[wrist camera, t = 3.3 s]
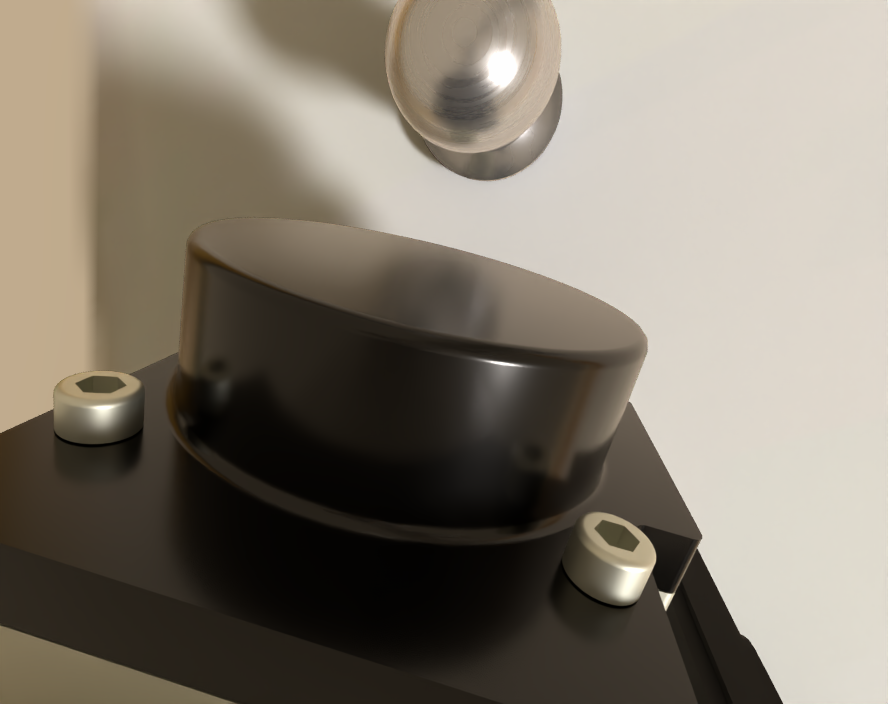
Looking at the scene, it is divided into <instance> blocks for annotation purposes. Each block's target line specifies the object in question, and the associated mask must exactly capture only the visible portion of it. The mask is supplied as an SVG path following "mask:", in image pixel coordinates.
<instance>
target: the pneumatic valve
mask: <svg viewBox="0 0 888 704" xmlns="http://www.w3.org/2000/svg"><path fill="white" fill-rule="evenodd" d="M647 350H648V341H647V337H646V335H645V334H644V332H643V331H642V329H641V328H640V326H639V325H638V324H636V323H635V322H634V321H633V320H632V319H631V318H630V317H628V316H627V315H625V314H624V313H622V312H621V311H619V310H618V309H616V308H614V307H613V306H611V305H609V304H607V303H605V302H604V301H602V300H600V299H598V298H596V297H594V296H591V295H589V294H587V293H585V292H583V291H580V290H578V289H576V288H573V287H571V286H569V285H566V284H564V283H561V282H558V281H556V280H553V279H551V278H548V277H545V276H542V275H540V274H537V273H534V272H531V271H528V270H525V269H522V268H519V267H516V266H513V265H510V264H507V263H503V262H500V261H497V260H494V259H490V258H487V257H483V256H480V255H476V254H473V253H469V252H465V251H462V250H458V249H454V248H450V247H446V246H442V245H438V244H434V243H430V242H426V241H421V240H417V239H412V238H408V237H403V236H398V235H393V234H388V233H383V232H378V231H373V230H367V229H362V228H356V227H350V226H343V225H337V224H330V223H323V222H314V221H306V220H295V219H282V218H260V217H249V218H230V219H222V220H216V221H212V222H209V223H206V224H203V225H201V226H200V227H198V228H197V229H195V230H194V231H193V232H192V233H191V235H190V236H189V238H188V240H187V243H186V254H185V269H184V283H183V298H182V312H181V327H180V341H179V352H178V353H176V354H173V355H171V356H169V357H167V358H165V359H162V360H160V361H158V362H156V363H154V364H151V365H149V366H147V367H145V368H143V369H140V370H138V371H136V372H134V373H132V374H130V375H129V374H125V373H121V372H114V371H90V372H83V373H79V374H75V375H72V376H69V377H67V378H65V379H63V380H62V381H60V382H59V383H58V384H57V385H56V387H55V389H54V394H53V398H54V409H53V410H51V411H48V412H46V413H44V414H42V415H39V416H38V417H35V418H33V419H31V420H28V421H26V422H24V423H22V424H20V425H18V426H15V427H13V428H11V429H9V430H6V431H4V432H2V433H0V704H698V702H697V699H696V696H695V694H694V691H693V688H692V685H691V682H690V679H689V676H688V674H687V671H686V668H685V665H684V662H683V659H682V656H681V654H680V651H679V648H678V645H677V642H676V639H675V636H674V634H673V631H672V628H671V625H670V622H669V619H668V616H667V614H666V610H667V608H668V606H669V604H670V602H671V600H672V598H673V596H674V594H675V592H676V590H677V588H678V586H679V584H680V582H681V580H682V578H683V576H684V574H685V572H686V570H687V568H688V566H689V564H690V561H691V559H692V557H693V555H694V553H695V551H696V549H697V547H698V545H699V543H700V541H701V539H702V534H701V532H700V531H699V529H698V527H697V525H696V523H695V521H694V519H693V517H692V516H691V514H690V512H689V510H688V508H687V506H686V504H685V503H684V501H683V499H682V497H681V495H680V493H679V491H678V489H677V488H676V486H675V484H674V482H673V480H672V478H671V476H670V475H669V473H668V471H667V469H666V467H665V465H664V463H663V461H662V460H661V458H660V456H659V454H658V452H657V450H656V448H655V447H654V445H653V443H652V441H651V439H650V437H649V435H648V434H647V432H646V430H645V428H644V426H643V424H642V422H641V420H640V419H639V417H638V415H637V413H636V411H635V409H634V407H633V406H632V404H631V403H630V402H629V398H630V396H631V393H632V390H633V388H634V385H635V383H636V380H637V378H638V375H639V373H640V370H641V367H642V365H643V362H644V360H645V357H646V355H647Z"/></svg>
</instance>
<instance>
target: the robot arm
mask: <svg viewBox="0 0 888 704" xmlns="http://www.w3.org/2000/svg"><path fill="white" fill-rule="evenodd" d="M666 614H667V616H668V619H669V622H670V625H671V628H672V631H673V634H674V636H675V639H676V642H677V645H678V648H679V651H680V654H681V656H682V659H683V662H684V665H685V668H686V671H687V674H688V676H689V679H690V682H691V685H692V688H693V691H694V694H695V696H696V699H697V702H698V704H783V702H782V700H781V698H780V697H779V695H778V693H777V691H776V689H775V687H774V685H773V683H772V681H771V679H770V677H769V675H768V673H767V671H766V670H765V668H764V666H763V664H762V662H761V660H760V658H759V656H758V654H757V652H756V650H755V648H754V647H753V645H752V644H751V642H750V641H749V640H748V639H747V638H746V637H744V636H743V635H740V633H739V631H738V629H737V627H736V625H735V623H734V621H733V619H732V617H731V615H730V613H729V611H728V609H727V607H726V605H725V603H724V601H723V599H722V597H721V595H720V593H719V591H718V589H717V587H716V585H715V583H714V581H713V579H712V577H711V575H710V573H709V571H708V569H707V567H706V565H705V563H704V561H703V559H702V557H701V555H700V553H699V551H698V549H696V551H695V553H694V555H693V557H692V559H691V561H690V564H689V566H688V568H687V570H686V572H685V574H684V576H683V578H682V580H681V582H680V584H679V586H678V588H677V590H676V592H675V594H674V596H673V598H672V600H671V602H670V604H669V606H668V608H667V610H666Z"/></svg>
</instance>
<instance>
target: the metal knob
mask: <svg viewBox="0 0 888 704" xmlns="http://www.w3.org/2000/svg"><path fill="white" fill-rule="evenodd" d="M560 61H561V34H560V27H559V22H558V18H557V15H556V11H555V9H554V6H553V4H552V1H551V0H398V1H397V3H396V5H395V7H394V10H393V12H392V15H391V18H390V21H389V25H388V29H387V34H386V41H385V66H386V73H387V78H388V83H389V87H390V90H391V92H392V95H393V98H394V100H395V102H396V104H397V106H398V108H399V110H400V111H401V113H402V115H403V116H404V118H405V119H406V120H407V121H408V122H409V124H410V125H411V126H412V127H413V128H414V129H415V130H416V131H417V132H418V133H419V134H420V135H421V136H422V137H423V139H424V141H425V143H426V145H427V146H428V148H429V150H430V151H431V153H432V154H433V155H434V156H435V157H436V159H437V160H438V161H439V162H441V163H442V164H443V165H444V166H445V167H447V168H448V169H449V170H451V171H453V172H455V173H457V174H459V175H461V176H464V177H467V178H469V179H473V180H479V181H496V180H501V179H505V178H508V177H511V176H514V175H516V174H518V173H519V172H521V171H523V170H524V169H526V168H527V167H529V166H530V165H531V164H532V163H533V162H534V161H536V160H537V159H538V157H539V156H540V155H541V154H542V153H543V151H544V150H545V148H546V147H547V145H548V144H549V142H550V140H551V138H552V136H553V134H554V132H555V130H556V127H557V125H558V122H559V118H560V113H561V107H562V84H561V78H560V74H559V69H560Z"/></svg>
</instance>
